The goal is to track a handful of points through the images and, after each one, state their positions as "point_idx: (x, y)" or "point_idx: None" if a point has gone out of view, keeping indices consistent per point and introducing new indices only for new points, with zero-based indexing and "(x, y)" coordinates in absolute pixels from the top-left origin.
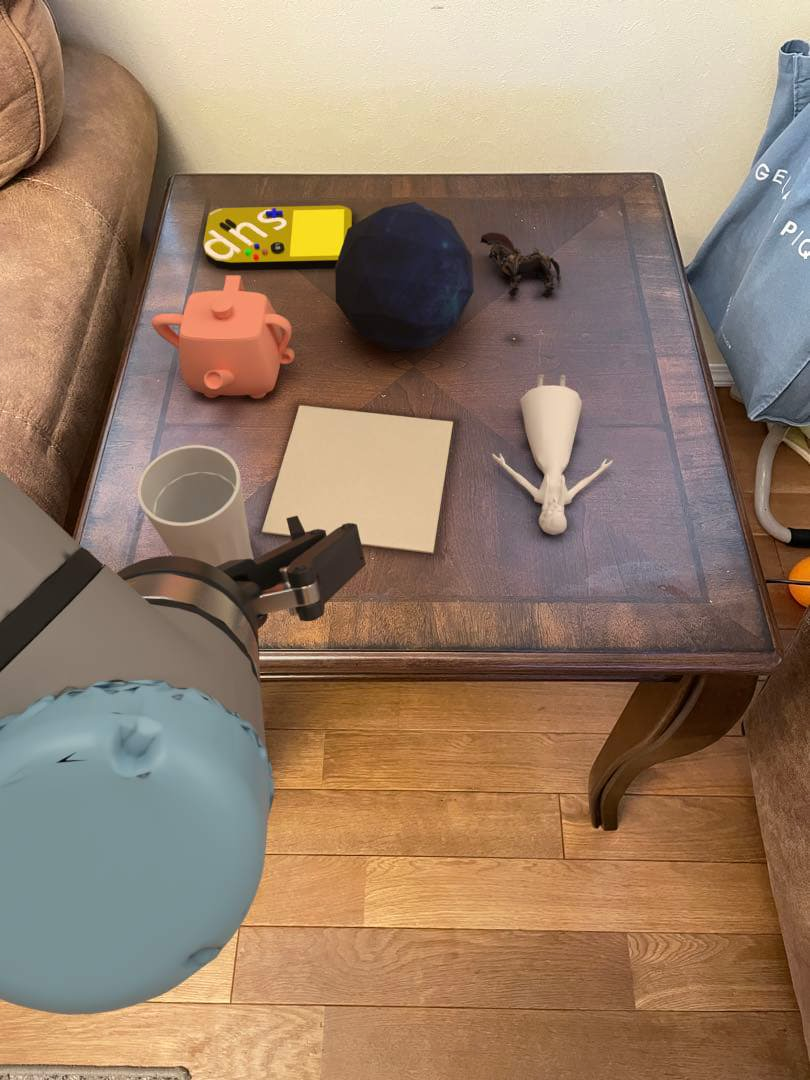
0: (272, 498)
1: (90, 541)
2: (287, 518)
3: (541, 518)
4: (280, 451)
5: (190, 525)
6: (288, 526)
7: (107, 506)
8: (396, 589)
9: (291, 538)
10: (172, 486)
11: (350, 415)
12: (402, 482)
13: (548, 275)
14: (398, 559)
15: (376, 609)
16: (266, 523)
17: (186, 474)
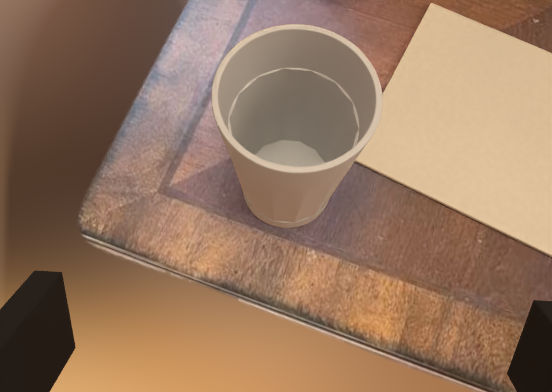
0: None
1: (146, 102)
2: (540, 305)
3: None
4: (394, 55)
5: (283, 172)
6: (537, 327)
7: (176, 63)
8: (502, 297)
9: (530, 353)
10: (265, 79)
11: (491, 34)
12: (540, 147)
13: None
14: (513, 254)
15: (470, 317)
16: None
17: (290, 67)
